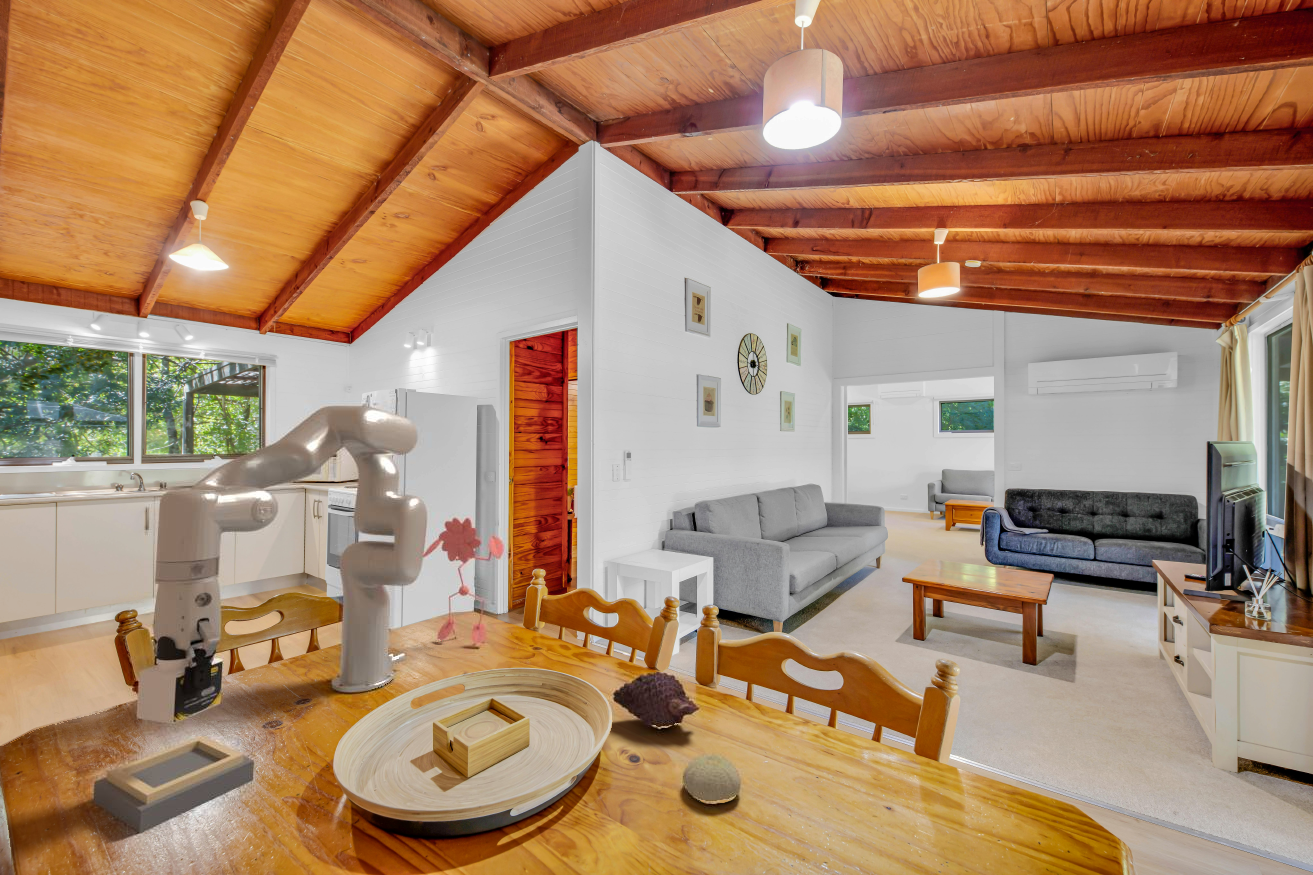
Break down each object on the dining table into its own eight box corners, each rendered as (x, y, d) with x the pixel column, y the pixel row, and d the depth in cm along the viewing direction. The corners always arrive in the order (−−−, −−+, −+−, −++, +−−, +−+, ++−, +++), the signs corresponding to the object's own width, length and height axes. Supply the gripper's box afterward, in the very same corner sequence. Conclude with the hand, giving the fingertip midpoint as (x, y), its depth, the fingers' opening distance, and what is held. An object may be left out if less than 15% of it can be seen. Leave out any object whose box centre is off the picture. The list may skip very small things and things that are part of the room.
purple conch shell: (604, 729, 106) (606, 676, 106) (622, 707, 116) (623, 659, 116) (694, 745, 101) (696, 689, 102) (705, 720, 111) (706, 670, 111)
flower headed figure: (433, 633, 159) (436, 512, 160) (512, 644, 152) (515, 517, 152) (393, 652, 145) (397, 518, 145) (479, 665, 137) (482, 524, 138)
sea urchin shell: (746, 766, 91) (741, 748, 86) (739, 821, 86) (733, 806, 81) (693, 755, 94) (684, 737, 89) (683, 808, 89) (673, 792, 84)
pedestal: (205, 756, 93) (206, 731, 94) (253, 779, 87) (254, 752, 87) (93, 802, 81) (94, 772, 81) (139, 832, 75) (141, 801, 75)
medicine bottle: (173, 724, 80) (178, 641, 81) (135, 719, 82) (140, 636, 82) (221, 703, 87) (225, 626, 88) (185, 698, 89) (189, 623, 89)
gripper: (247, 572, 85) (241, 687, 84) (187, 560, 92) (181, 666, 92) (188, 581, 78) (181, 707, 77) (129, 567, 86) (122, 682, 85)
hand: (181, 684), depth 85 cm, fingers closed on medicine bottle, 8 cm apart
